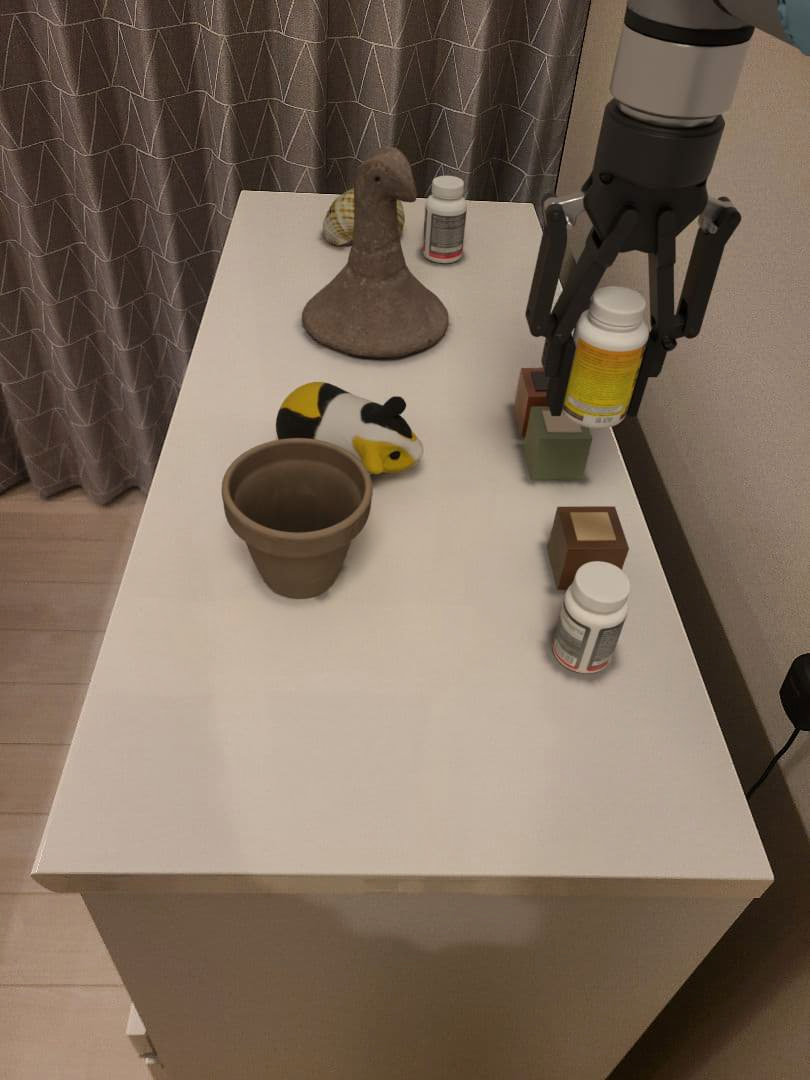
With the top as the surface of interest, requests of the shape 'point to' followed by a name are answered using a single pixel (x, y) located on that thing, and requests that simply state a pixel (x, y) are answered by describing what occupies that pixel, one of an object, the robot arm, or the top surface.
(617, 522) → the block near
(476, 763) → the top surface
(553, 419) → the block far
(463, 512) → the top surface
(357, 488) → the flower pot
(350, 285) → the sculpture
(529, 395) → the block end
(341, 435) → the figurine
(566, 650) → the pill bottle
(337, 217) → the seashell
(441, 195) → the pill bottle
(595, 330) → the supplement bottle
